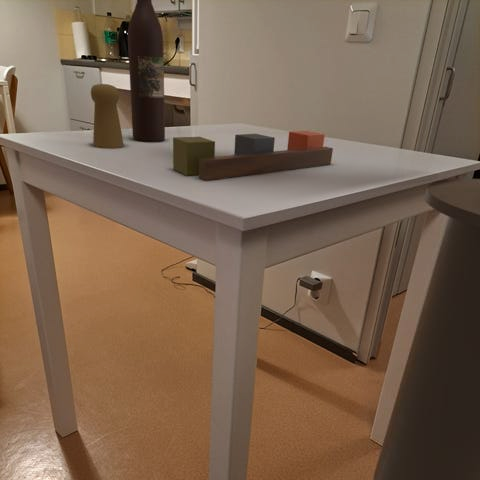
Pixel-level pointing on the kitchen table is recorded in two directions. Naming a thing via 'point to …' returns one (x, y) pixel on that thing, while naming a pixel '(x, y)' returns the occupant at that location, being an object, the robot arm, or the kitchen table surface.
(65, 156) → the kitchen table surface
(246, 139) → the slate-blue block
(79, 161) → the kitchen table surface
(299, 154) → the straightedge
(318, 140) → the terracotta block
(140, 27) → the wine bottle
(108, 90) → the cork
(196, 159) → the olive block
